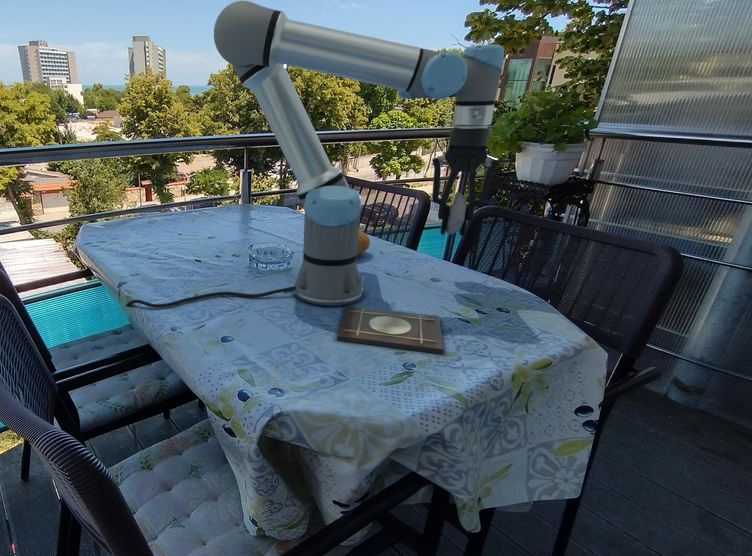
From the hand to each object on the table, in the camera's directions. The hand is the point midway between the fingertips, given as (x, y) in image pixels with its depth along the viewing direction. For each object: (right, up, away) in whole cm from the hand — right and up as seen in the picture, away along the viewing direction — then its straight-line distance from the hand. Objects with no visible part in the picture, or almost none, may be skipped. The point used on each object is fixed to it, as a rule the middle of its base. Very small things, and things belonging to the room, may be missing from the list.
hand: (452, 233), depth 109 cm
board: (-22, -21, -19) cm, 36 cm away
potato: (-17, -3, +23) cm, 29 cm away
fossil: (0, -1, 0) cm, 1 cm away
